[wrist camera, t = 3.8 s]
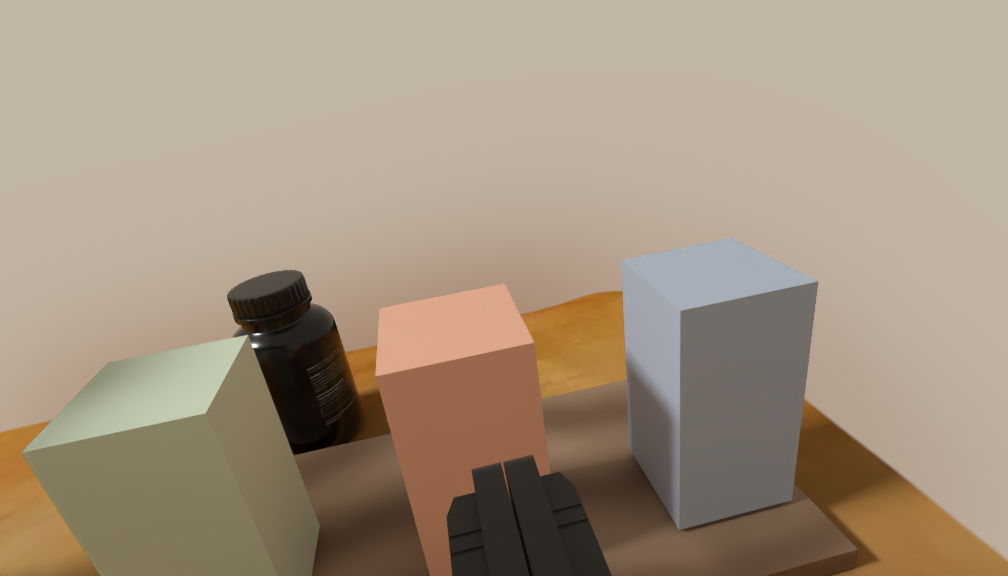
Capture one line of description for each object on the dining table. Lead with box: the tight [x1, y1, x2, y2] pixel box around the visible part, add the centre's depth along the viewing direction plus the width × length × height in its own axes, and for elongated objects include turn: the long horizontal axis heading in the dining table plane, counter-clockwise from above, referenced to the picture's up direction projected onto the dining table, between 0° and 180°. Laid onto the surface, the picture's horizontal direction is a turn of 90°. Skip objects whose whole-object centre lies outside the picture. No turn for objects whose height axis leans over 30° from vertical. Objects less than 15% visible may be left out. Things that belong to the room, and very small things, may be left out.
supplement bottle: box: [227, 270, 363, 455], centre depth 37 cm, size 7×7×12 cm
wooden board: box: [293, 380, 858, 576], centre depth 30 cm, size 16×32×1 cm, turn 101°
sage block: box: [21, 335, 320, 576], centre depth 23 cm, size 6×6×12 cm
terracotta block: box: [375, 284, 550, 576], centre depth 25 cm, size 6×6×12 cm
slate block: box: [621, 238, 818, 530], centre depth 26 cm, size 6×6×12 cm
